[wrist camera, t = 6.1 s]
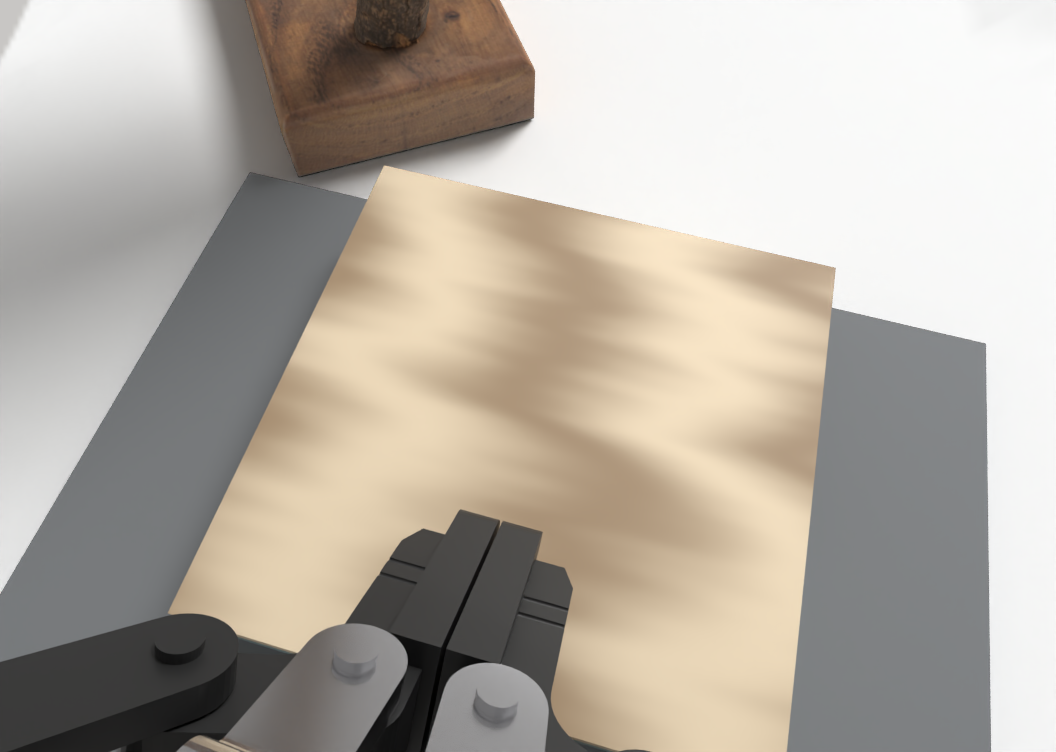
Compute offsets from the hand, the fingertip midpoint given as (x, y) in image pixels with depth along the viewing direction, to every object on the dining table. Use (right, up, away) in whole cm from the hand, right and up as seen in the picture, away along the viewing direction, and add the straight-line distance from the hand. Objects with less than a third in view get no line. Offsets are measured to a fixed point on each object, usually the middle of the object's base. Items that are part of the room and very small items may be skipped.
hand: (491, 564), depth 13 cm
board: (-1, -3, +2) cm, 4 cm away
